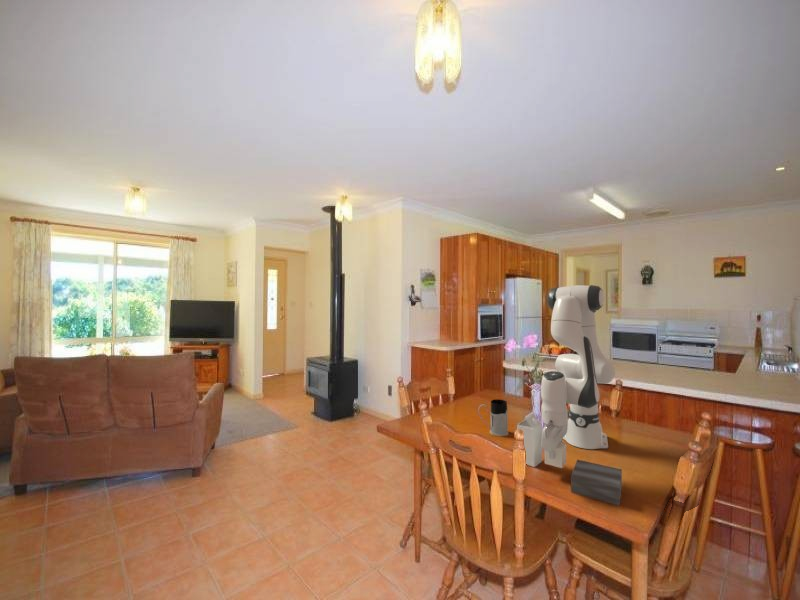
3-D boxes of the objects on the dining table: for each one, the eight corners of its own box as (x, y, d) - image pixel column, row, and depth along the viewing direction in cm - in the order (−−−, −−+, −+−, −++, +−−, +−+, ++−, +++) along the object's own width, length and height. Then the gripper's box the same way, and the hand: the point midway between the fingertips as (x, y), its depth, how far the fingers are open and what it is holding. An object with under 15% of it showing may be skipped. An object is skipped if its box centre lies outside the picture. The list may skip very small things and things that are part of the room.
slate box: (577, 475, 133) (577, 459, 133) (621, 486, 125) (621, 469, 125) (571, 493, 122) (570, 475, 122) (619, 506, 114) (619, 487, 114)
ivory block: (549, 457, 137) (549, 439, 136) (566, 461, 133) (566, 442, 133) (544, 463, 132) (544, 444, 132) (562, 468, 128) (561, 448, 128)
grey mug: (511, 436, 169) (510, 404, 169) (480, 436, 169) (480, 405, 169) (505, 428, 178) (505, 398, 178) (476, 429, 178) (476, 399, 178)
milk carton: (517, 461, 144) (516, 414, 143) (525, 455, 149) (525, 410, 148) (534, 467, 139) (533, 418, 138) (542, 461, 144) (541, 414, 143)
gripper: (555, 428, 122) (556, 468, 122) (570, 410, 138) (571, 446, 138) (536, 424, 126) (537, 463, 126) (553, 407, 142) (554, 442, 142)
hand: (555, 454), depth 132 cm, fingers closed on ivory block, 6 cm apart
